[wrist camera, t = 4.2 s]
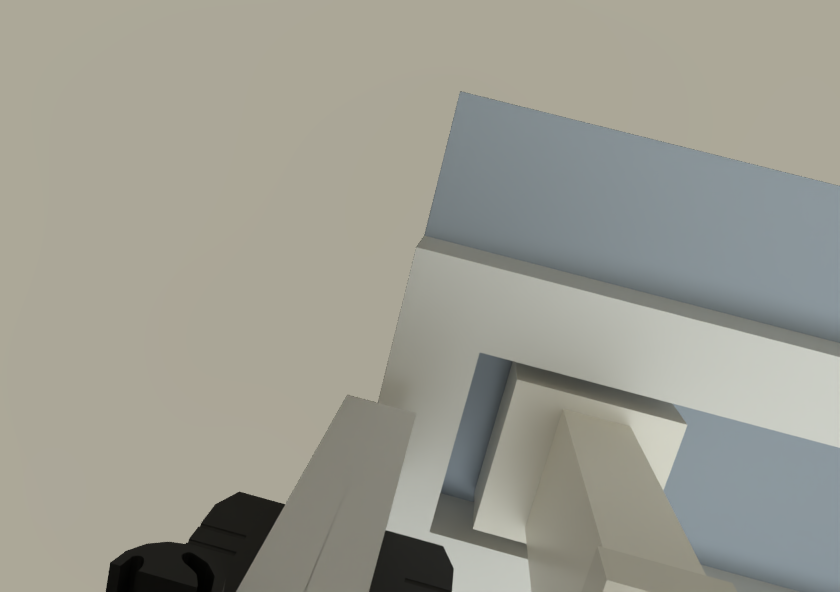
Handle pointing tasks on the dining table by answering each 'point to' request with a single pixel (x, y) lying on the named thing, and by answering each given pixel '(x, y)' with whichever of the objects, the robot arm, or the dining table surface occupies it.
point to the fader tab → (587, 487)
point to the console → (628, 334)
